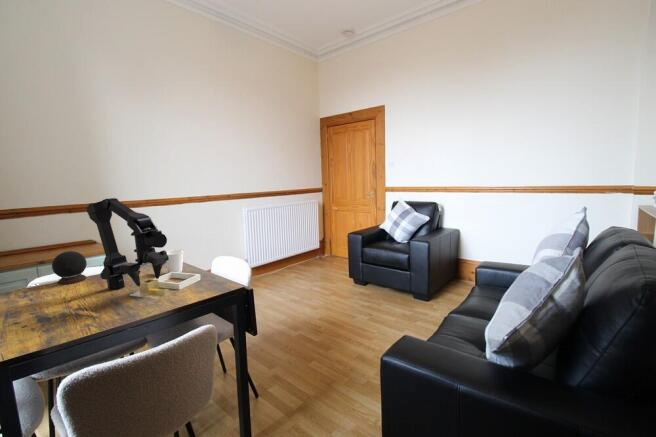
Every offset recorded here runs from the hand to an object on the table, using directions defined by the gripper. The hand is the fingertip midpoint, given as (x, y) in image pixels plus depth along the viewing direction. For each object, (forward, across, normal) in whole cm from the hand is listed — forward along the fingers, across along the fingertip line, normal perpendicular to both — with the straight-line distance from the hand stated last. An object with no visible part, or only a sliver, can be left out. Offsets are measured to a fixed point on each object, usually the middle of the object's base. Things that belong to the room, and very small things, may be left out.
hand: (148, 282), depth 132 cm
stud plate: (+5, 0, -2) cm, 6 cm away
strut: (+4, 0, -4) cm, 6 cm away
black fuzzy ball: (+6, +4, +56) cm, 56 cm away
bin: (+6, +12, -2) cm, 14 cm away
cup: (+6, +27, +13) cm, 30 cm away
